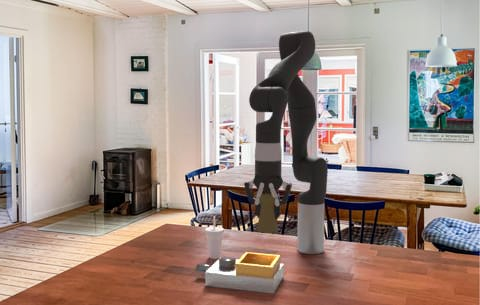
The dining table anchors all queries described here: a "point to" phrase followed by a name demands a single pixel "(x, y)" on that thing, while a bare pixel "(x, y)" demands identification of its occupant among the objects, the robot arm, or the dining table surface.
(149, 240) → the dining table surface
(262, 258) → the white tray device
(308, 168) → the robot arm
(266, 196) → the cork
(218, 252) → the smoothie
